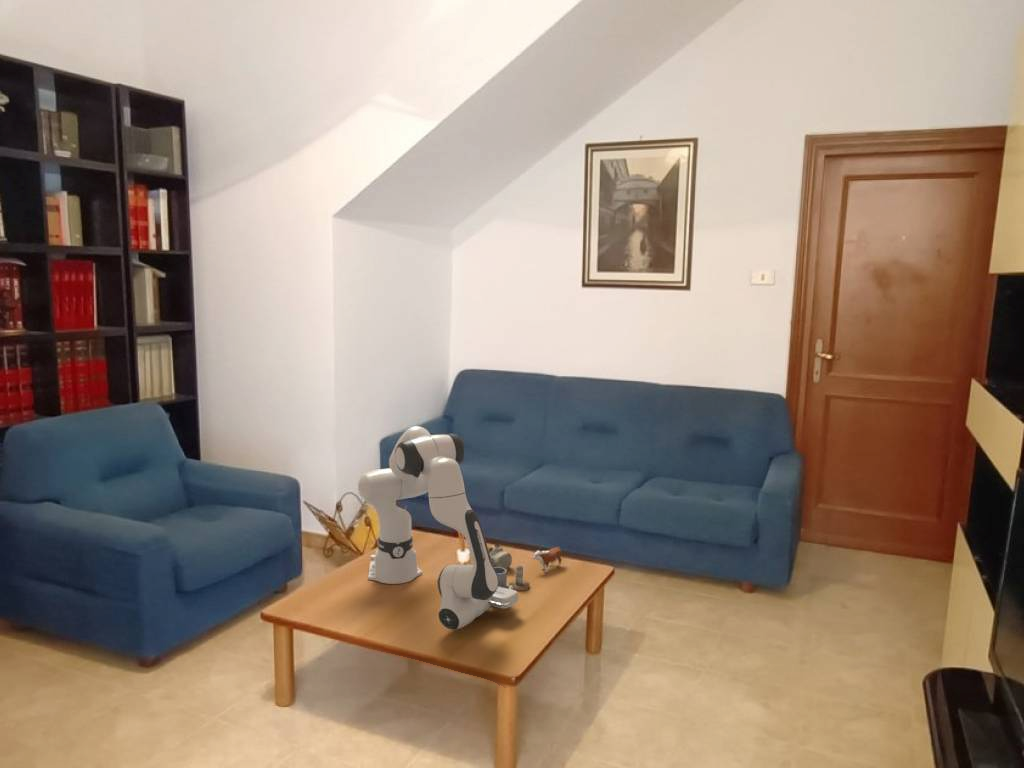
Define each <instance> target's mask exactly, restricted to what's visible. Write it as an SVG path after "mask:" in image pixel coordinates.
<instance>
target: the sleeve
mask: <svg viewBox="0 0 1024 768" xmlns="http://www.w3.org/2000/svg"><path fill="white" fill-rule="evenodd" d="M494 568H495V571H496V573H497V576H498V586H499V587H503V588H506V586H507V580H508V579H507V578H508V577H507V576H508V575H507V574H508V573H507V572H508V571H507V570H508V569H505V568H502V567H494Z"/></svg>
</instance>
